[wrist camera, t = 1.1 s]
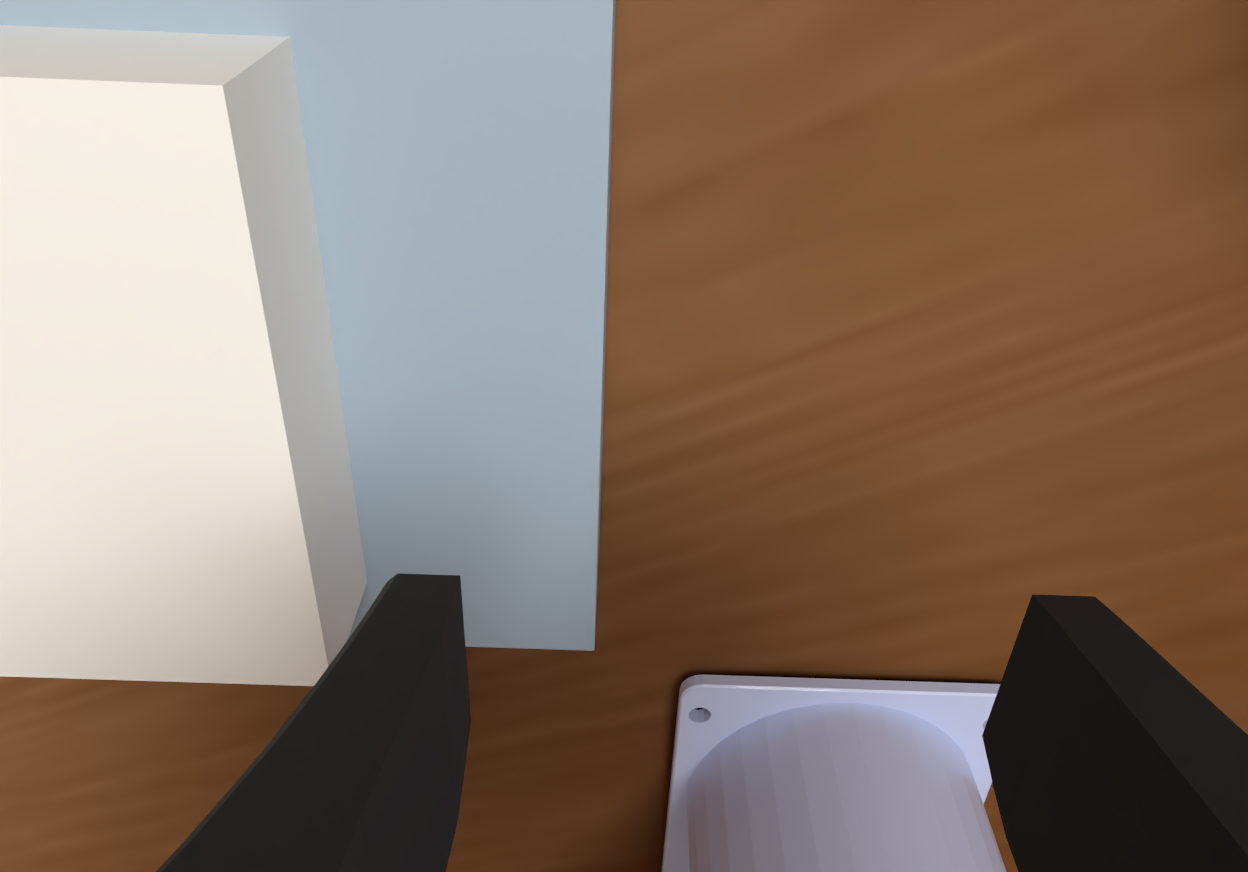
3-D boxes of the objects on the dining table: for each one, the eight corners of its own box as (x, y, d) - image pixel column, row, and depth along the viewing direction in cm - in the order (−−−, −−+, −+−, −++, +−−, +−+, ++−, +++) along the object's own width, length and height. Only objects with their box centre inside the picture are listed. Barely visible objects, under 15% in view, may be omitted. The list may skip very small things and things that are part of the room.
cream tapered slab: (367, 582, 17) (332, 686, 15) (20, 570, 17) (-60, 673, 15) (290, 36, 12) (222, 85, 10) (-198, 17, 12) (-363, 62, 10)
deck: (600, 530, 21) (594, 650, 18) (-206, 503, 21) (-344, 620, 18) (619, -112, 14) (616, -86, 11) (-563, -162, 14) (-875, -149, 11)
